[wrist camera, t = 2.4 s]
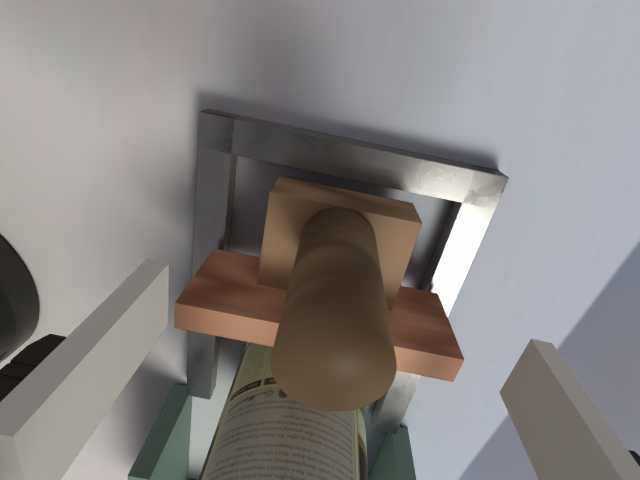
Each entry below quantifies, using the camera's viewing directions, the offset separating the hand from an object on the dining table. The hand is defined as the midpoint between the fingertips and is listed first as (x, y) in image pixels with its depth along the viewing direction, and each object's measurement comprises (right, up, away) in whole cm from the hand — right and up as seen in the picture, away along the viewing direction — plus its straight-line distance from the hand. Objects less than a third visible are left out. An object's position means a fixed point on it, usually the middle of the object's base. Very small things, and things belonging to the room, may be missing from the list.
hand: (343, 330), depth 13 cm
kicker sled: (0, +3, +10) cm, 10 cm away
